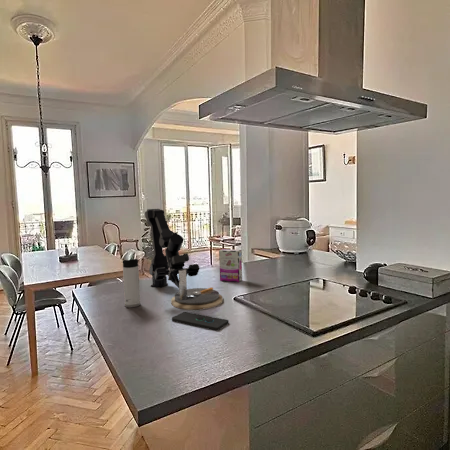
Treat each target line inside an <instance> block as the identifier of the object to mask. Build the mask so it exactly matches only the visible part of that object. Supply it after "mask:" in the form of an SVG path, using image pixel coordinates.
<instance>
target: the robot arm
mask: <svg viewBox="0 0 450 450" xmlns="http://www.w3.org/2000/svg"><path fill="white" fill-rule="evenodd" d="M144 218H145V219H146V223H147V224H148V225H149V228H150V231H151V239H152V240H151V241H152V249H153V251H152V252H153V255H152V258H151V260H150V261H151V263H150V266H149V269H148V270H149V274H150V276H151V277H152V284H151V285H150V287H154V288H163V287H165V286H167V285H169V283H167V282H168V281H170V282H171V283H173V284H174V285H175V286H176V287H177V288H178V289H179V270H182V269H185V270H186V278H187V276H188V277H195V276H197V275H199V274H198V273H199V272H200V265H199V264H198V263H193V264H192V263H191V264H189V265H188V267H185V263H187V262H189V261H190V256H189V253H187V252H186V253H183V254H180V252H179V251H181V249H182V246H183V243H184V237H183V236H182V235H180V234H178V232H176V231H175V232H174V231H172V230H171V228H170V227H169V225H168V221H167V219H166V216H165V211H164V209H161V208H147V209H146V211H144ZM163 249H165V250H164V251H163ZM164 253H165V254H164ZM184 267H185V268H184ZM167 277H168V279H167Z"/></svg>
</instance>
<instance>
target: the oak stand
mask: <svg viewBox="0 0 450 450" xmlns="http://www.w3.org/2000/svg"><path fill="white" fill-rule="evenodd" d="M170 302H171V303H170V304H171V305H172V306H173V307H175V308H176V309H181V310H188V311H190V310H191V311H197V310H200V311H201V310H206V309H211V308H215V307H218V306H220V305H221V304H222V303H223V296H222V295H221V294H220V293H219V299H218V300H216V301H214V302H212V303H208V304H202V305H186V304H181V303H178V302H176V301H175V295H174V296H173V297H172V298H171V300H170Z"/></svg>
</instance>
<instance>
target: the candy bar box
mask: <svg viewBox="0 0 450 450" xmlns="http://www.w3.org/2000/svg"><path fill="white" fill-rule="evenodd" d="M242 254H243V253H242V249H226V248H225V249H224V248H223V249H220V250H219V251H218V256H219V257H218V258H219V259H218V260H219V281H220V282H232V283H240V282H242V281H243V258H242V257H243V255H242Z"/></svg>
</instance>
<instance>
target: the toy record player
mask: <svg viewBox="0 0 450 450" xmlns="http://www.w3.org/2000/svg"><path fill="white" fill-rule="evenodd" d="M178 279H179V288H178V291H177V292H176V293H175V294H174V296H175V301H176V302H178V303H181V304H186V305H202V304H208V303H212V302H214V301H216V300H218V299H219V294H220V293H219V291H218V290H216V289H214V287H209V288H206V287H204V288H203V287H199V288H198V287H195V288H188V287H187V286H188V285H187V283H188V281H187V277H186V270H185V269H182V270H179V274H178Z"/></svg>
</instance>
